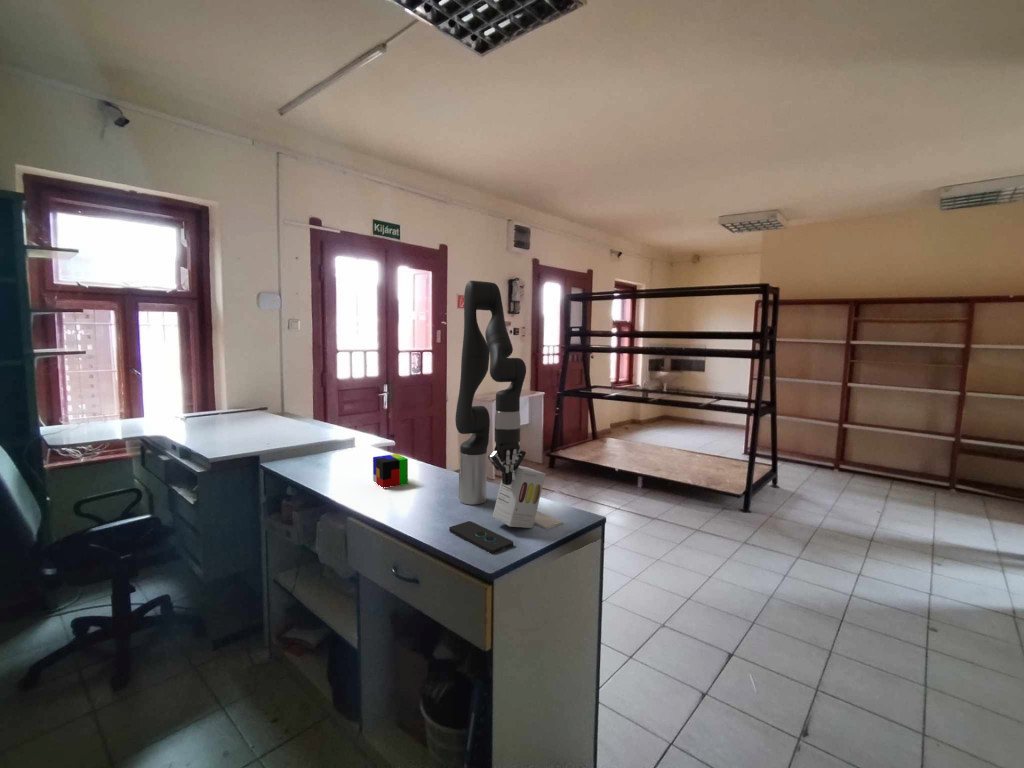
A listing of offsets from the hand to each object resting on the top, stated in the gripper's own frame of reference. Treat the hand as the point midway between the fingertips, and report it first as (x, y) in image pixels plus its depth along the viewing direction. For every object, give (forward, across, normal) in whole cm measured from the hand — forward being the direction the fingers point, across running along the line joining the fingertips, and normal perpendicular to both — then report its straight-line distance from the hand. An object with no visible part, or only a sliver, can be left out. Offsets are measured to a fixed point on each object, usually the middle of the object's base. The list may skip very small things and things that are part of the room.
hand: (507, 484), depth 139 cm
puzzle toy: (+12, +8, -63) cm, 65 cm away
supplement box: (+13, -3, -1) cm, 13 cm away
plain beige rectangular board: (+14, -13, -1) cm, 19 cm away
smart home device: (+15, +10, 0) cm, 17 cm away
